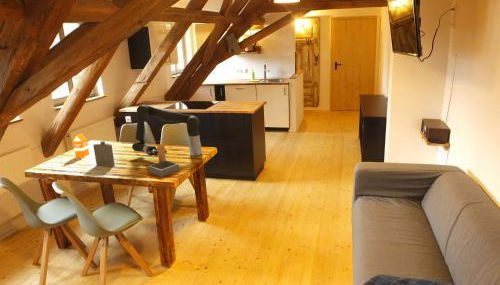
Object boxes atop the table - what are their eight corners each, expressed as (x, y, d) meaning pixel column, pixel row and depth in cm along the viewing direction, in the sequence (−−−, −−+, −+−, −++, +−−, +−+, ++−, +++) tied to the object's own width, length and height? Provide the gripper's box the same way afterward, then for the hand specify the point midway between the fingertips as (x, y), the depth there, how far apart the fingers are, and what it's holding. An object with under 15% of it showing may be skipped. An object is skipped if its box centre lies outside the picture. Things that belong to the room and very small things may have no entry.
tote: (166, 166, 287) (165, 160, 286) (179, 170, 277) (178, 164, 275) (148, 172, 275) (147, 166, 274) (161, 176, 265) (160, 170, 264)
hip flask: (95, 165, 294) (91, 142, 289) (98, 164, 298) (95, 140, 293) (113, 166, 291) (109, 142, 285) (116, 165, 295) (112, 141, 289)
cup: (163, 162, 296) (161, 144, 292) (167, 163, 293) (165, 145, 289) (157, 164, 292) (155, 146, 288) (162, 165, 289) (160, 147, 285)
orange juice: (89, 154, 326) (85, 132, 320) (84, 157, 317) (80, 135, 312) (81, 154, 326) (77, 132, 321) (75, 157, 318) (71, 135, 312)
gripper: (141, 147, 294) (153, 151, 284) (156, 143, 304) (168, 146, 294) (143, 156, 296) (154, 160, 286) (157, 152, 306) (169, 155, 296)
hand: (161, 153), depth 290 cm, fingers open, 8 cm apart
